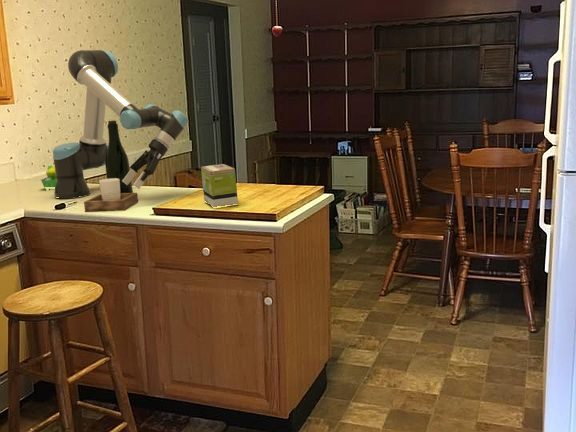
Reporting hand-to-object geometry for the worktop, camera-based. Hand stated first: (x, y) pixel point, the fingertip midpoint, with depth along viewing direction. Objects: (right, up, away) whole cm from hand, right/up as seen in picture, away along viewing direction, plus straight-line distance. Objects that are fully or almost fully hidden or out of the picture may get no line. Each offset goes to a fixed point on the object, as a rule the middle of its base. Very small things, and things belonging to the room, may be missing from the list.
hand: (130, 185), depth 255 cm
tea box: (+38, -8, -10) cm, 40 cm away
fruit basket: (-50, +1, +54) cm, 74 cm away
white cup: (-7, -8, -3) cm, 11 cm away
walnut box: (-7, -9, -2) cm, 11 cm away
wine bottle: (-9, -4, +21) cm, 23 cm away
